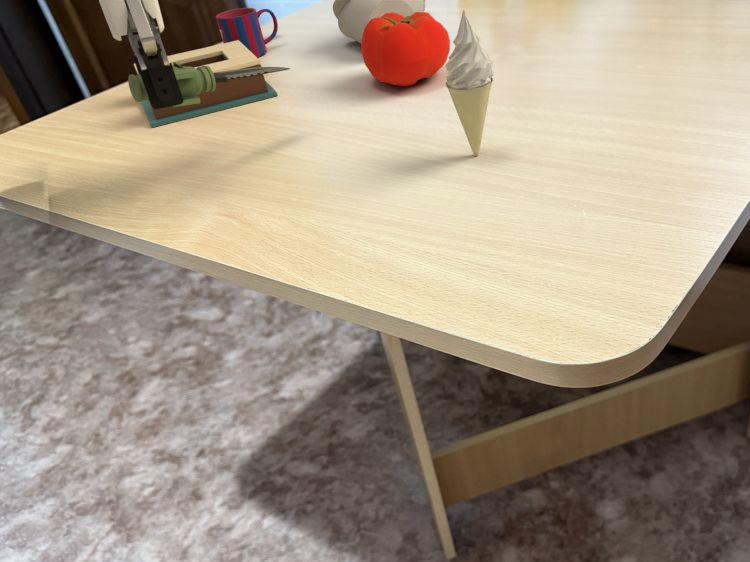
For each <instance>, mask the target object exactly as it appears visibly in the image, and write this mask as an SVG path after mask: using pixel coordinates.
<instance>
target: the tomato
mask: <svg viewBox="0 0 750 562" xmlns="http://www.w3.org/2000/svg"><path fill="white" fill-rule="evenodd" d="M360 47H361V48H360V49H361V56H362V60H363V62H364V65H365V67H366V68H367V69H368V72H369V73H370V75H371V76H372V77H373V78H374V79H376V80H377V81H378V82H381V83H384V84H389V85H394V86H399V87H408V86H409V87H410V86H412V85H416V83H417V82H418V81H419V80H422V79H423V80H424V79H427V78H432V77H433V76H435V74H437V72H439V71H440V70H441V69H442V67H444V66H445V65H446V63H447V60H448V58H449V55H450V50H451V40H450V36H449V32H448V29H446V28H445V27H444V25H443V24H442V23H441V22H439V21H438V20H436V19H435V18H434V16H433V15H432V14H431V13H429V12H426V11H424V12H415V13H414V14H413V15H411V16H407V17H404V16H403V15H400V14H397V13H386V14H384V15H383V16H381V17H380V18H379V17H378V18H373V19H371V20H370V21H369V22H368V24H367V25H366V27H365V29H364V31H363V36H362V40H361V43H360Z"/></svg>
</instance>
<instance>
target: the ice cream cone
mask: <svg viewBox="0 0 750 562" xmlns="http://www.w3.org/2000/svg"><path fill="white" fill-rule="evenodd" d="M480 41H481V38H480V37H479V36H478V34H477V33H476V32H475V31H474V29H473V27H472V24H471V23H470V21H469V19H468V16H467V14H466V11H465V9H462V14H461V18H460V22H459V26H458V30H457V34H456V36H455V38H454V39H453V41H452V43H453V44H454V48H453V51H452V52H451V53H450V54H449V55H448V59H449V60H448V61H447V62H446V63H445V64H444V66H445V69H446V70H447V71H448V72H447V75H446V77H445V78H446V82H445V88H446V89H447V90H448V93H449V95H450V97H451V100H452V103H453V106H454V108H455V111H456V113H457V115H458V118H459V121H460V123H461V126H462V128H463V131H464V133H465V136H466V138H467V141H468V143H469V146H470V149H471V151H472V154H473V156H474V157H478V156H479V155H480V150H481V145H482V139H483V134H484V128H485V121H486V117H487V111H488V105H489V100H490V95H491V90H492V85H493V82H494V78H493V77H494V69H493V64H494V63H493V60H492V59H491V57H490V55H489V53H488V52H487V51H486V50H484V49H483V48H482V45H481V44H480Z"/></svg>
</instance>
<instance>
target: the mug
mask: <svg viewBox="0 0 750 562" xmlns="http://www.w3.org/2000/svg"><path fill="white" fill-rule="evenodd" d="M263 13H268V14H269V15H270V16H271V18H272V22H273V30H272V33H271V34H270V35H269V36H268V37H267V38H266V39H265V38H264V34H263V31H262V27H261V24H260V20H259V18H260V17H261V16H262V14H263ZM215 20H216V24H217V26H218V30H219V33H220V36H221V39H222V44H224V43H228V42H232V41H237V40H239V41H240V42H241V43H242V44H243V45H244V46H245V47H246V48H247V49H248V50H249V51H250V52H252V53H253V54H254V55H255V56H256V57H257V58H258V59H259V58H261V57H263V56H265V55H266V54H267V53H268V51H267V46H266V45H267V44H269V43H270V42H272V41H273V40H274V39H275V37H276V36H277V34H278V31H279V24H278V19H277V16H276V15H275V13H274V12H273V11H272V10H270V9H269V8H261V9H259V10H256V8H254V7H241V8H233V9H229V10H225V11H223V12H220V13H217V14H216V15H215ZM266 52H267V53H266Z"/></svg>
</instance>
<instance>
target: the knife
mask: <svg viewBox="0 0 750 562" xmlns="http://www.w3.org/2000/svg"><path fill="white" fill-rule="evenodd" d="M173 64H174V66H172V67H173V70H174V73H175V76H176V79H177V82H178V85H179V88H180V91H181V94H182V97H183V103H182V104H179V105H175V106H172V107H179V106H185V105H192V104H198V103H201V102H200V97H197V95H198V94H200V93H201V91H202V92H207V91H209V92H212V91H215V88H216V83H218V82H228V81H229V80H233V79H241V78H248V77H253V76H258V75H266V74H267V75H268V74H272V73H277V72H283V71H287V70H291V68H290V67H284V66H261V67H254V68H244V69H237V70H229V71H222V72H216V73H215V72H214V73H213V71H212V70H211V68H210V67H209V66H201V67H197V68H196V69H195V68H194V67H186V66H182V65H181V64H180V63H178V62H173ZM127 82H128V88H129V91H130V93H131V96H132V98H133V100H134V101H135V102H136V103H141V102H142V101H147V100H148V99H149V97H148V94H147V92H146V89H145V86H144V83H143V81H142V78H141V75H140V74H133V73H132V74H129V75H128V77H127Z"/></svg>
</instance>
